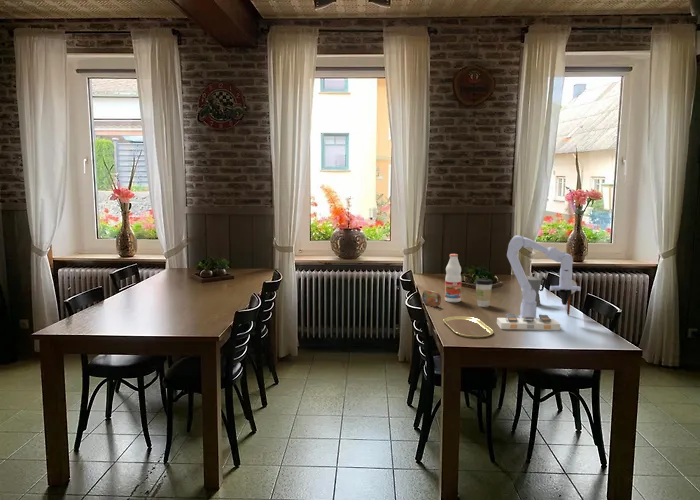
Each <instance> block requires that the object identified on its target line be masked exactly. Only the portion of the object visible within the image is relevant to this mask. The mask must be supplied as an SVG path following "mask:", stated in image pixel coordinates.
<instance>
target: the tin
mask: <svg viewBox="0 0 700 500" xmlns="http://www.w3.org/2000/svg"><path fill="white" fill-rule="evenodd" d="M421 298H422V302H423V303H424V305H426V306H430V307H433V308H434V307H439V306H440V305H441V300H442V297H441V294H440V293H439V292H437V291H433V290H430V289H425V290H423V292H422V297H421Z"/></svg>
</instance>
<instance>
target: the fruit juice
mask: <svg viewBox="0 0 700 500" xmlns="http://www.w3.org/2000/svg"><path fill="white" fill-rule="evenodd" d="M458 257H459V254H457V253H450V254H449V260H448V263H447V265H446V267H445V273H446V274H445V278H444V279H445V280H444V281H445V282H444V301H446V302H448V303H459V302H461V300H462V275H461V272H462V267H461V265H460V262H459V259H458Z"/></svg>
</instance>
